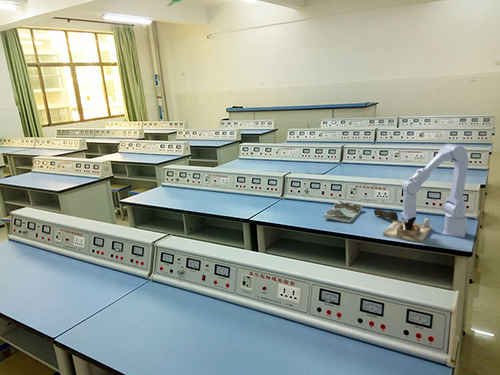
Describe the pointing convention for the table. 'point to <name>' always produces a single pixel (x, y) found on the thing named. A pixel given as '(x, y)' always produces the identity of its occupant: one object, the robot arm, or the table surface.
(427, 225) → the grey peg
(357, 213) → the topographical model
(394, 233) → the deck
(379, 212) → the hand tool
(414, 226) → the terracotta block
